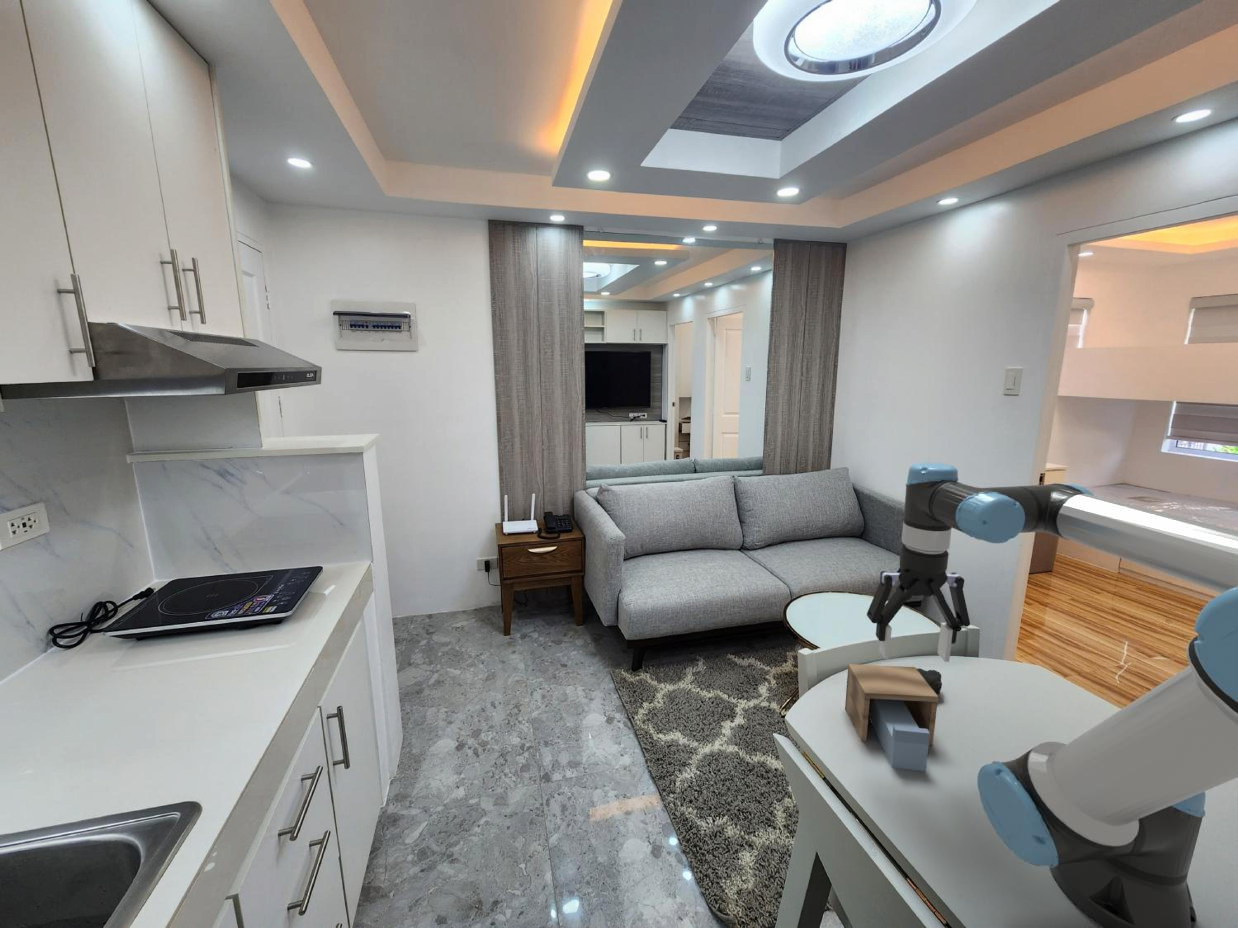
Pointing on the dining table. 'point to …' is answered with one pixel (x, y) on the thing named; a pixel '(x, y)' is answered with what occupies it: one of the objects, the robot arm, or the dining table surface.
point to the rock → (932, 679)
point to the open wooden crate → (889, 694)
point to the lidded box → (899, 734)
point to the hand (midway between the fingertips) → (913, 656)
